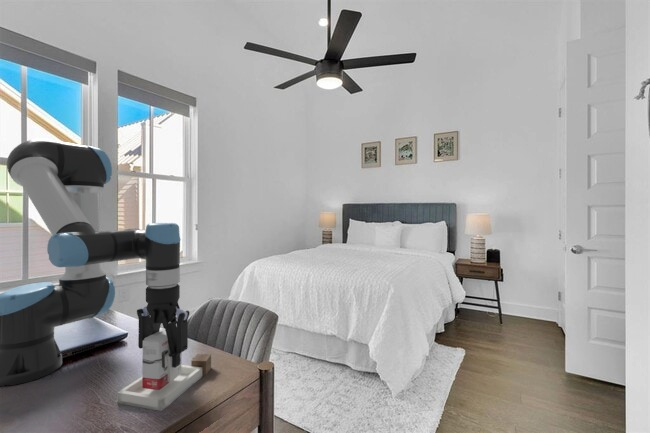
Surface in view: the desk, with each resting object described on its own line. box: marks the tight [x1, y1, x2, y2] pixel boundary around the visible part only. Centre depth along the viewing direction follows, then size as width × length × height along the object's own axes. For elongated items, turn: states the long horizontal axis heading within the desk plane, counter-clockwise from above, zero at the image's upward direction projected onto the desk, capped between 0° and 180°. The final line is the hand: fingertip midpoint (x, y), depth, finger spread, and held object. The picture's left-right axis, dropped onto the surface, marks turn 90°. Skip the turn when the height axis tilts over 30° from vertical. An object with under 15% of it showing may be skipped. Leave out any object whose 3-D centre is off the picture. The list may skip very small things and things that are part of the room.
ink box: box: [141, 328, 183, 390], centre depth 79 cm, size 9×5×12 cm, turn 168°
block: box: [190, 353, 212, 376], centre depth 88 cm, size 4×4×4 cm
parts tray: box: [116, 364, 203, 412], centre depth 79 cm, size 12×15×2 cm
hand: (162, 377), depth 79 cm, fingers closed on ink box, 5 cm apart
